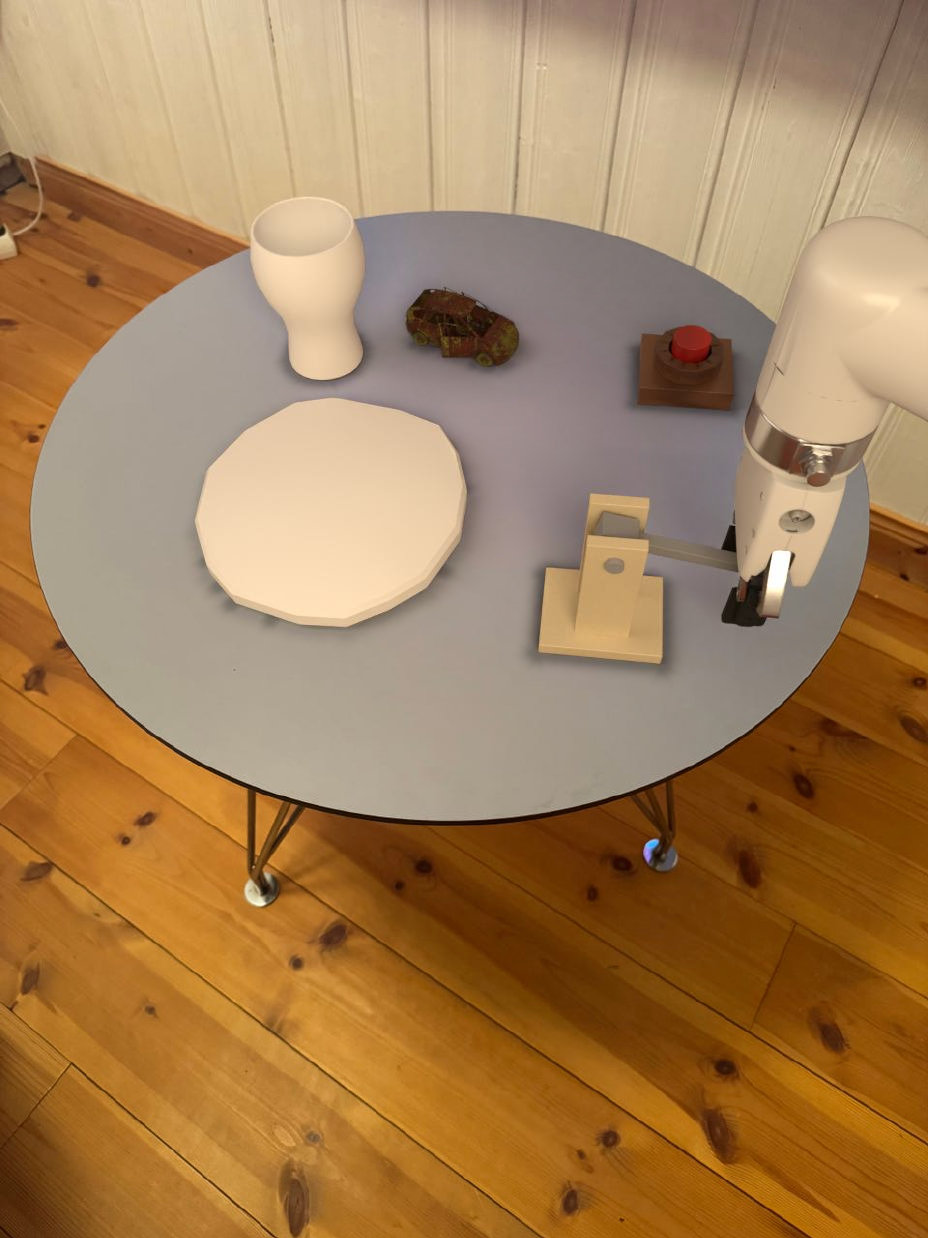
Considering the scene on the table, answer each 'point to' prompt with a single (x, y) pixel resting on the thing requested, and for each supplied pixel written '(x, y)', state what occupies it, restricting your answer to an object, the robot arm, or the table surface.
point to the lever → (669, 545)
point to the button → (691, 344)
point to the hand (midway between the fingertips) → (740, 589)
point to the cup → (312, 280)
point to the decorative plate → (331, 511)
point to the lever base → (605, 594)
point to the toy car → (461, 327)
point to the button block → (685, 375)
